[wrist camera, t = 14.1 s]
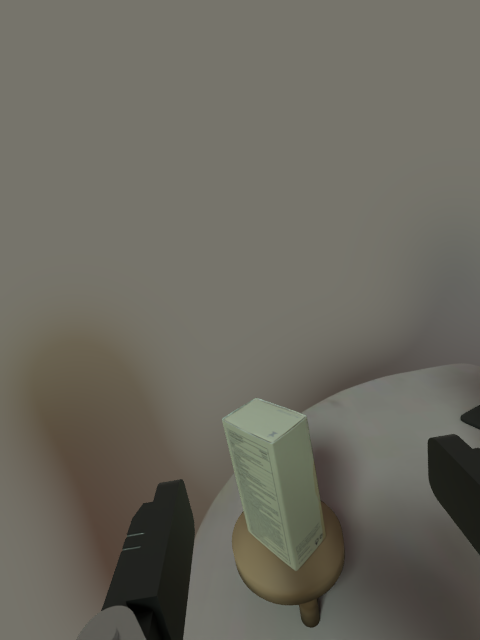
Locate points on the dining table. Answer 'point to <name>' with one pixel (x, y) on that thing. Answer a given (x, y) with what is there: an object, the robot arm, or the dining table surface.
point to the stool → (280, 579)
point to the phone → (472, 417)
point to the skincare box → (276, 479)
